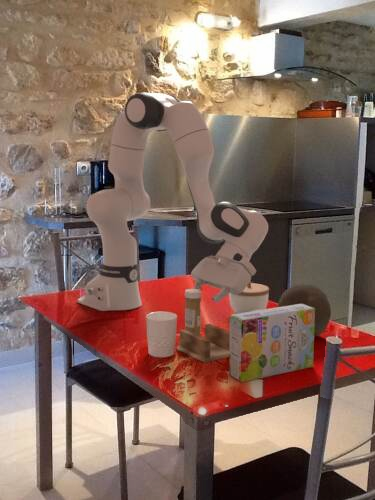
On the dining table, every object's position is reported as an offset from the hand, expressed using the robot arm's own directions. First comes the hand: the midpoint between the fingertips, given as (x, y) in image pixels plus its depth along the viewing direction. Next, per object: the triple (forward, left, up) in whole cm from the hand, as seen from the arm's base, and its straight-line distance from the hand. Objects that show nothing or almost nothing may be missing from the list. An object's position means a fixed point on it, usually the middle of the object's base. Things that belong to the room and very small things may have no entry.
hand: (204, 297), depth 163 cm
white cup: (0, -19, -11) cm, 22 cm away
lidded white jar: (+1, +24, -11) cm, 27 cm away
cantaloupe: (+24, +15, -11) cm, 30 cm away
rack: (+9, -11, -11) cm, 18 cm away
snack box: (+28, -13, -11) cm, 33 cm away
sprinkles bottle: (-1, -4, -11) cm, 12 cm away
